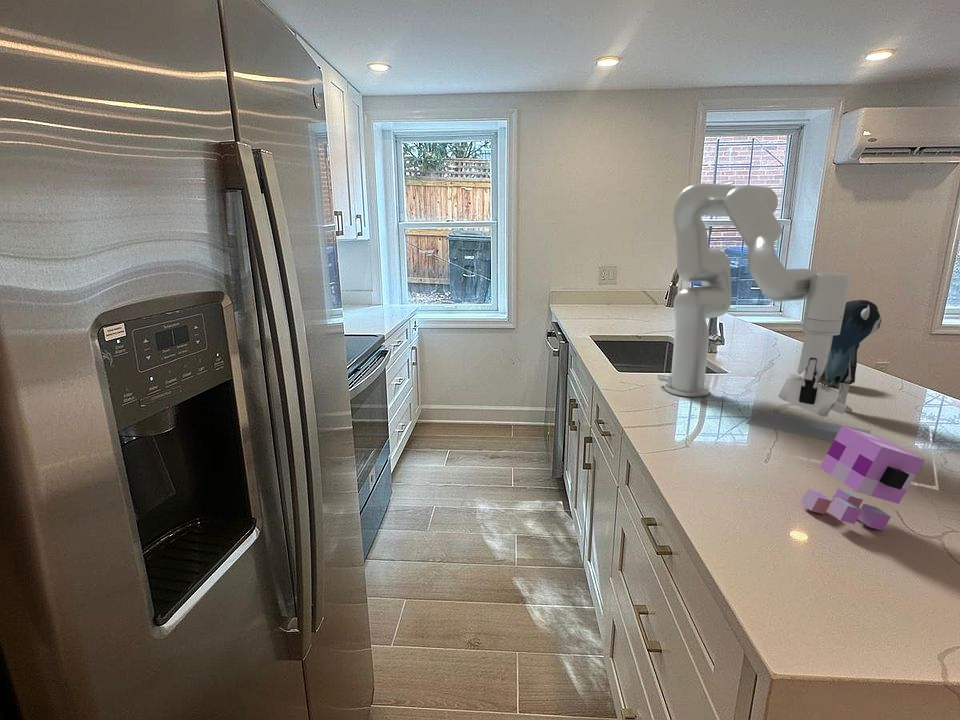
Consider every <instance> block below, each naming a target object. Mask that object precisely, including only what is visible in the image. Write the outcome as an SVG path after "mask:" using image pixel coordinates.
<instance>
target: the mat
mask: <svg viewBox="0 0 960 720" xmlns="http://www.w3.org/2000/svg"><path fill="white" fill-rule="evenodd" d="M746 425H751V426H755V427H761V428H765V429H771V430H775V431H781V432H785V433H789V434H794V435H801V436H804V437H805V436H806V437H810V438H814V439H820V440H825V441H830V442H833V441H834V439H835V438H836V436H837V434H838V432H839V430H840V428H841V427H842V426H845V427H848V428H851V429H854V430H858V431H861V432H864V433H867V434H870V430H869V429H863V428H860V427H859V428H858V427H853V426H848V425H847V426H846V425H842V424H836V423H830V422H825V421H820V420H814V419H809V418H802V417H798V416H793V415H789V414H788V415H787V414H781V413H776V412H772V411H771V412H770V411H765V410H761V409H757V410H756V411H755V413H754V414H753V415H752V416H751V417H750V418H749V419H748V421H747V422H746Z"/></svg>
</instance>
